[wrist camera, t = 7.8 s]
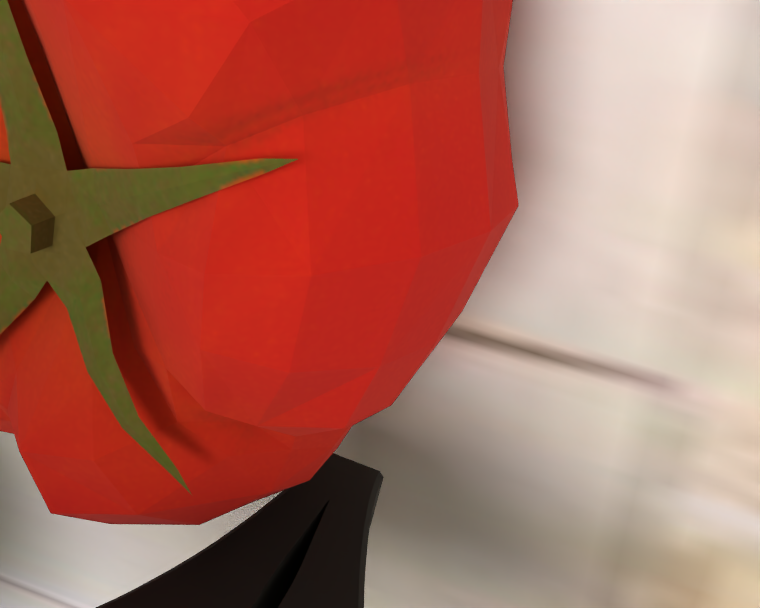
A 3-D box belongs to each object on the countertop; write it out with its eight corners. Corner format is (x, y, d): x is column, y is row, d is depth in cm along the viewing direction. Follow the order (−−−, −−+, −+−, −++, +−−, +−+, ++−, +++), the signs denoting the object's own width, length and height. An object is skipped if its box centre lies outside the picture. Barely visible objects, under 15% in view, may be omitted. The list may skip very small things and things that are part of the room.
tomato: (40, 253, 15) (-290, 400, 9) (78, -335, 9) (-672, -830, 4) (392, 436, 14) (259, 720, 8) (666, -97, 8) (805, -293, 3)
